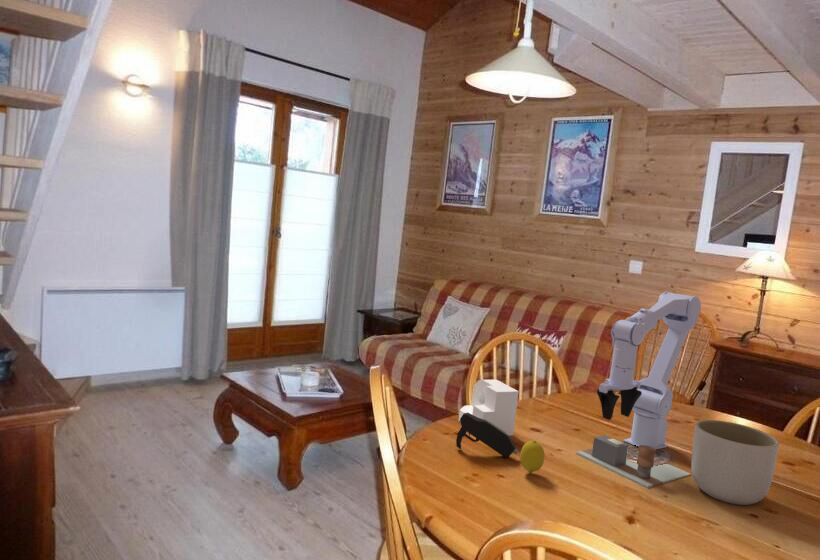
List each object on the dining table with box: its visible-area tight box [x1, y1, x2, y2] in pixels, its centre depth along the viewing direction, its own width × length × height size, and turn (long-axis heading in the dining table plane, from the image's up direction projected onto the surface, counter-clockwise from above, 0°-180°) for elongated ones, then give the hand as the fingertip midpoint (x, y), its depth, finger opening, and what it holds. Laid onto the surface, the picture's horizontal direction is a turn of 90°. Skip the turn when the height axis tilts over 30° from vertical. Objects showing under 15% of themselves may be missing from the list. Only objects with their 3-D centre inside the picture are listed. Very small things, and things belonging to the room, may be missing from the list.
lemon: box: [519, 439, 545, 474], centre depth 138 cm, size 6×6×8 cm
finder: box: [592, 434, 629, 467], centre depth 150 cm, size 4×7×5 cm, turn 34°
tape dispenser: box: [458, 379, 520, 437], centre depth 168 cm, size 16×10×13 cm, turn 24°
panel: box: [575, 448, 692, 489], centre depth 150 cm, size 18×21×1 cm
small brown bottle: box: [637, 445, 657, 479], centre depth 141 cm, size 4×4×7 cm
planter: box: [690, 419, 780, 506], centre depth 136 cm, size 17×17×15 cm
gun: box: [455, 413, 519, 458], centre depth 148 cm, size 3×16×10 cm, turn 78°
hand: (616, 417), depth 154 cm, fingers open, 7 cm apart
